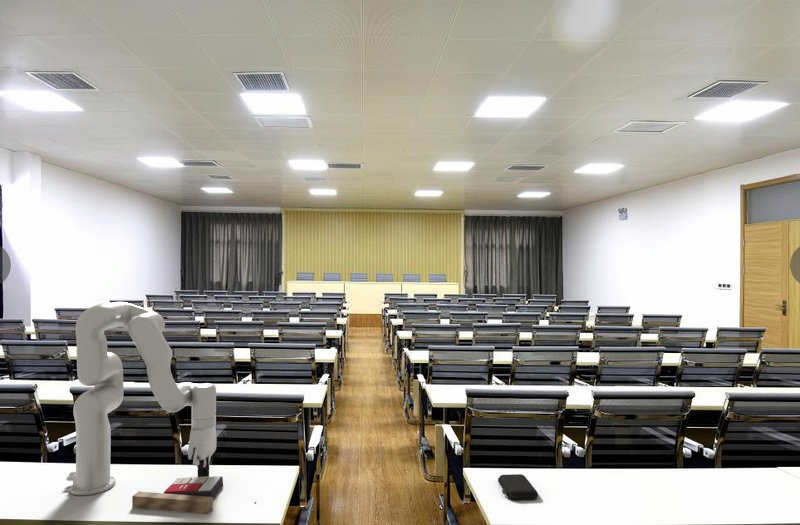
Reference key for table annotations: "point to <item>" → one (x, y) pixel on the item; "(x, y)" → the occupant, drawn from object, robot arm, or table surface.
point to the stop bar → (172, 502)
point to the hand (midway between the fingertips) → (203, 477)
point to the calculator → (196, 486)
